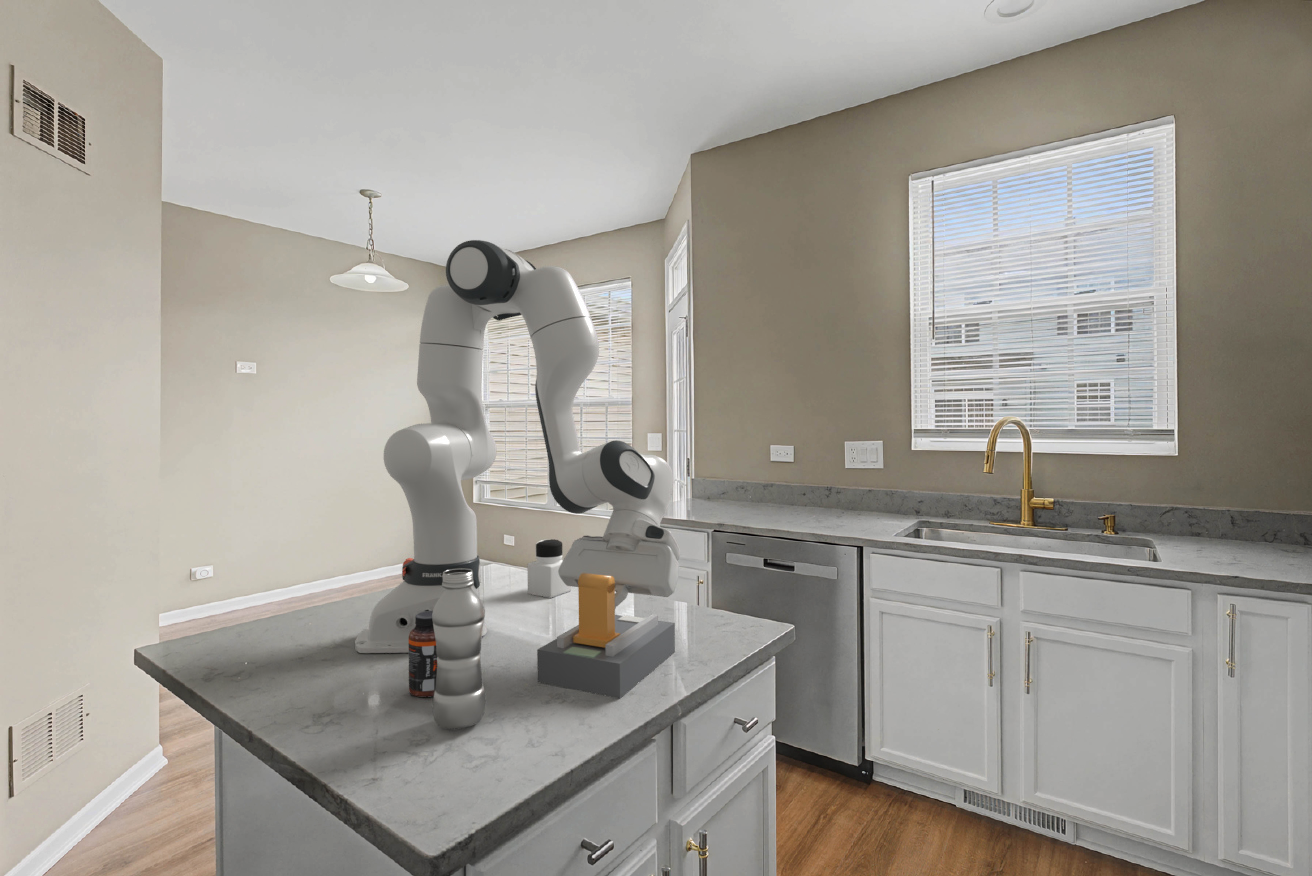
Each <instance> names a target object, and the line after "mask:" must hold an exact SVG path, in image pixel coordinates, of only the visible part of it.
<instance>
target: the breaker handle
mask: <svg viewBox="0 0 1312 876" xmlns="http://www.w3.org/2000/svg"><path fill="white" fill-rule="evenodd" d="M577 589H578V625H579V633H578V634H576V635H574V636H573V643H579V644H585V645H592V646H598V647H604V648H605V645H606V644H607V643H609V642H610V641H612V640H613V639H615V638H616V637H618V636H619V635H620V633H615V615H616V609H615V593H616V592H615V579H614V577H613V576H607V575H597V574H588V573H582V574H581V575H580V577H579V580H578V587H577Z"/></svg>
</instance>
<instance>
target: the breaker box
mask: <svg viewBox="0 0 1312 876" xmlns="http://www.w3.org/2000/svg"><path fill="white" fill-rule="evenodd" d="M675 626H676V625H675V622H673V621H665V620H659V615H658V614H649V616H647V617H641V616H640V617H639V616H630V615H621V614H615V633H620V635H619V636H618V637H616V638H615V639H613V640H612V641H610V642H609V643H607V644H606V645H605V648H604V647H598V646H592V645H585V644H579V643H573V636H574V635H576V634H578V633H579V624H578V625H576V626H574V627H572V628H570V629H568V630H567V631H565V632H563V633H562V634H559V635H558V636H556V638H555V639H554V640H552V641H550V642H548V643H547V644H544V645H543V646H541V647H539V648H537V650H536V651H537V652H536V653H537V654H536V655H537V657H536V661H537V664H536V665H537V670H536V671H537V683H539V684H544V685H548V686H549V685H550V686H555V687H559V688H564V689H568V690H569V689H570V690H574V691H580V692H584V691H585V693H589V692H590V693H589V694H595V693H596V694H595V695H599V696H604V695H606V696H605V697H609V696H611V697H610V698H614V697H615V698H614V699H621V698H622V697H624V696H625V695H626V694H627V693H629V692H630V691H631V690H633V688H634V687H635V686H637V685H638V684H639V683H641V681H642V679H643V678H644V679H645V678H647V676H649V674H651V673H652V672H653V671H654V670H655V669H657V668H658V667H659V666H660V665H662V664H663V663H664V662H665V661H666V660H667V659H669V658H670V657H671V656H672V655H674V653H675V652H676V633H675V632H676V627H675ZM644 679H643V680H644ZM638 682H639V683H638ZM637 683H638V684H637Z"/></svg>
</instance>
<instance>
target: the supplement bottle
mask: <svg viewBox="0 0 1312 876" xmlns="http://www.w3.org/2000/svg"><path fill="white" fill-rule="evenodd" d="M432 613H433V611H425V612H421V613H418V614H417V615H416V616H415V624H416V626H415V628H414V629H412V630H411V632H410V633H409V652H408V691H409V693H410V694H411V695H412V696H414V697H419V698H431V697H434V692H435V690H436V689H435V688H436V676H437V650H436V639H435V633H434V626H433V620H432Z"/></svg>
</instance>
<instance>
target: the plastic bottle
mask: <svg viewBox="0 0 1312 876" xmlns="http://www.w3.org/2000/svg"><path fill="white" fill-rule="evenodd" d="M473 585H474V580H473V572H472V570H471V569H451V570H447V571H444V572H443V582H442V587H443V588H445V591H444V593H443V594H442V595H441V597H440V598H439V600H438V601H437V603H436V605H435V607H434V610H433V613H432V620H433V626H434V633H435V639H436V650H437V676H436V688H435V689H436V690H435V692H434V696H433V698H432V706H431V710H432V715H433V719H434V721H435V723H436V724H437V725H438V727H440V728H442V729H445V730H462V729H467V728H470V727H472V726H474V725H476V724H478V723H479V722H480V720H481V719H482V717H483V716H484V714H485V710H486V704H487V698H486V691H485V688H484V684H483V673H482V662H481V658H482V656H481V655H482V653H481V650H482V637H483V636H482V632H483V624H484V620H485V616H486V609H485V605H484V603H483V601H482V599H481V597H480V598H479V597H478V595H477V594H476V593H475V592H474V591H473V590H472V587H471V586H473Z"/></svg>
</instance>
